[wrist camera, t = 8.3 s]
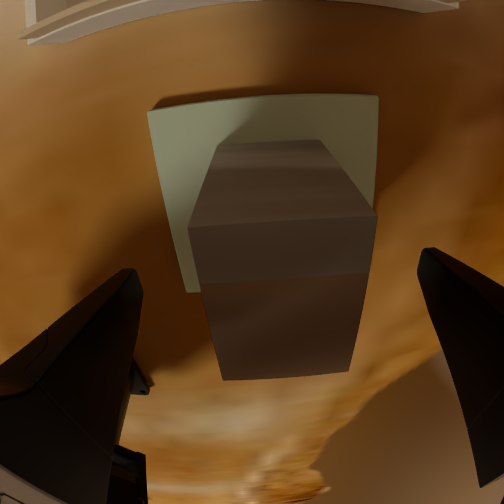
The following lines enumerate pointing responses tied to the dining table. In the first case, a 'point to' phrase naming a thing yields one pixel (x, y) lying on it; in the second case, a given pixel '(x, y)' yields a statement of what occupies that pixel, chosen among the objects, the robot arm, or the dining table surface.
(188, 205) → the sage mat
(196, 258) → the walnut box
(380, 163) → the dining table surface
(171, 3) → the carton
